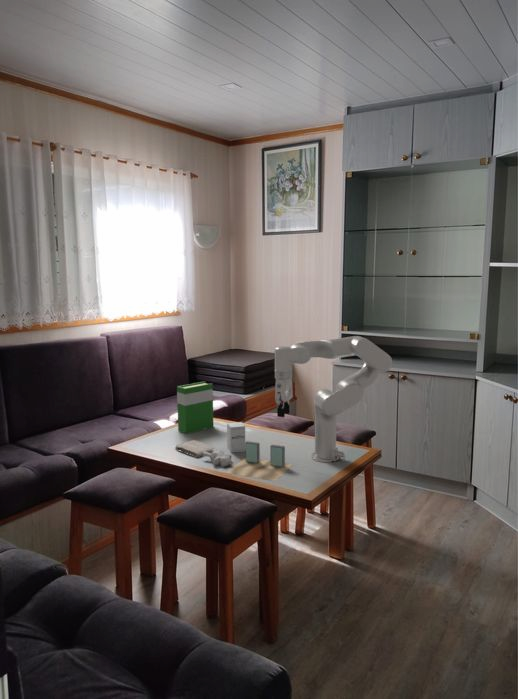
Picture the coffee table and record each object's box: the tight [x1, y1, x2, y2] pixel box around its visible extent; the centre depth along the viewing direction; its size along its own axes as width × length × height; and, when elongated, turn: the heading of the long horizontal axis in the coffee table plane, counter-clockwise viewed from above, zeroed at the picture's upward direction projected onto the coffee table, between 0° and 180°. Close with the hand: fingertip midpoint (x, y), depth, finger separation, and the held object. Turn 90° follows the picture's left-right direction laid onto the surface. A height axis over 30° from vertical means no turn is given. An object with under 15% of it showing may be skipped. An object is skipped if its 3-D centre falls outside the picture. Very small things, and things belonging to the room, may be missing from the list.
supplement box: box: [226, 421, 246, 453], centre depth 260 cm, size 7×7×13 cm
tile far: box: [245, 440, 261, 463], centre depth 243 cm, size 6×2×9 cm, turn 66°
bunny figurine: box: [202, 448, 233, 468], centre depth 244 cm, size 10×5×15 cm
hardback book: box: [176, 381, 214, 434], centre depth 293 cm, size 18×7×24 cm, turn 131°
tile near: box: [269, 444, 286, 467], centre depth 238 cm, size 6×2×9 cm, turn 66°
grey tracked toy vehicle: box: [174, 439, 216, 458], centre depth 261 cm, size 12×18×3 cm, turn 46°
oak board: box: [225, 456, 293, 482], centre depth 236 cm, size 23×20×1 cm
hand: (283, 414), depth 242 cm, fingers open, 5 cm apart
